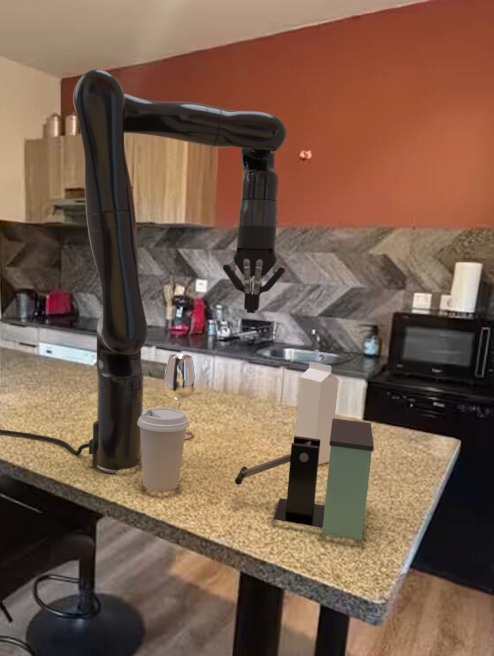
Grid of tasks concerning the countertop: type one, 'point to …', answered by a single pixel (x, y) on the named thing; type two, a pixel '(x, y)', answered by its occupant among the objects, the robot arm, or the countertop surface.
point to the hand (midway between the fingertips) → (251, 312)
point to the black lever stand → (302, 486)
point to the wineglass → (179, 380)
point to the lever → (263, 467)
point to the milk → (317, 406)
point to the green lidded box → (347, 478)
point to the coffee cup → (162, 447)
